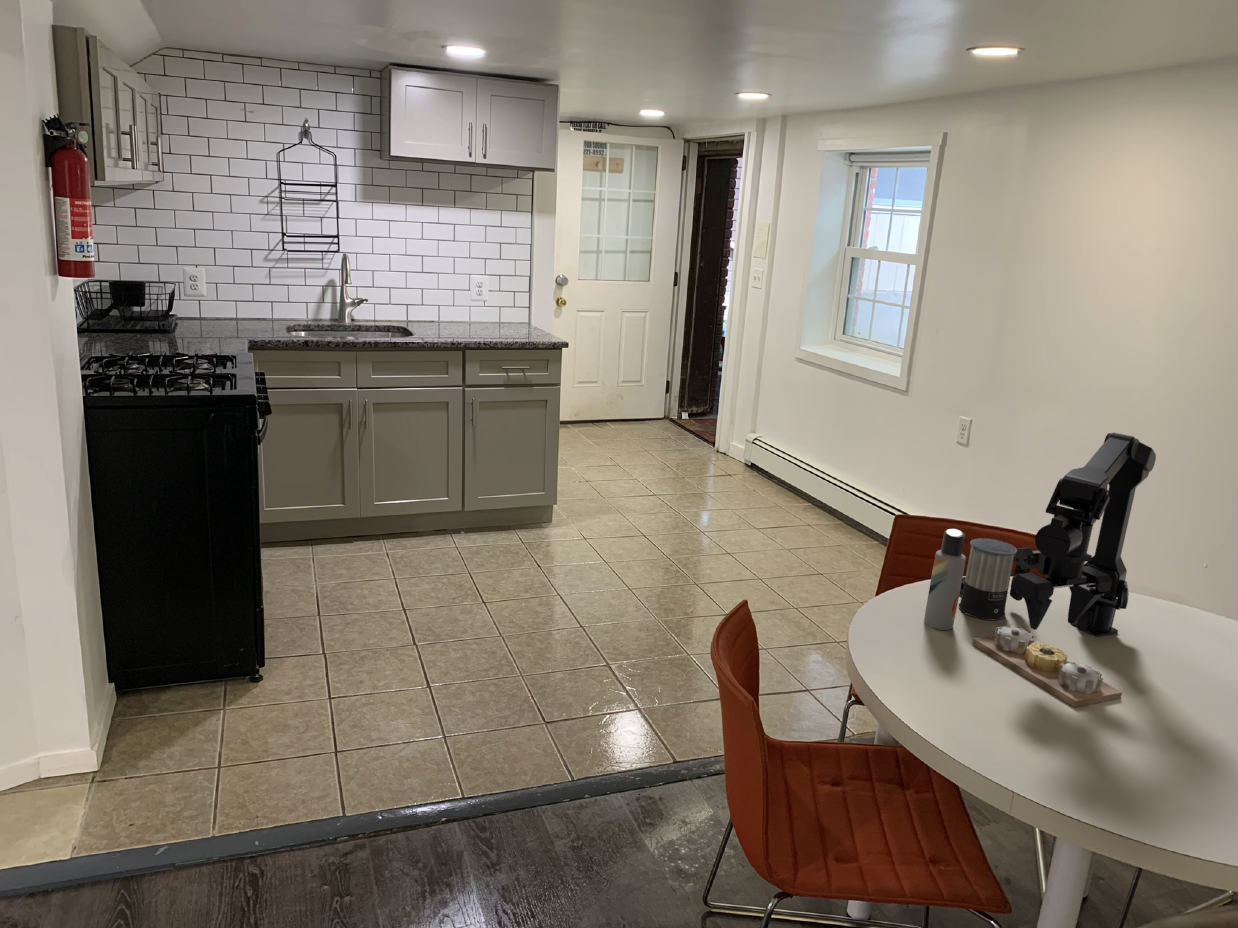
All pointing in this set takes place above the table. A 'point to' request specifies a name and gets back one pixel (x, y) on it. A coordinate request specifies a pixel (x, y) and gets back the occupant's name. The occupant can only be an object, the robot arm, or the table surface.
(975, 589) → the milk frother
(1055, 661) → the brass gear
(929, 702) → the table surface
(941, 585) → the lotion bottle
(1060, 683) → the gear board
